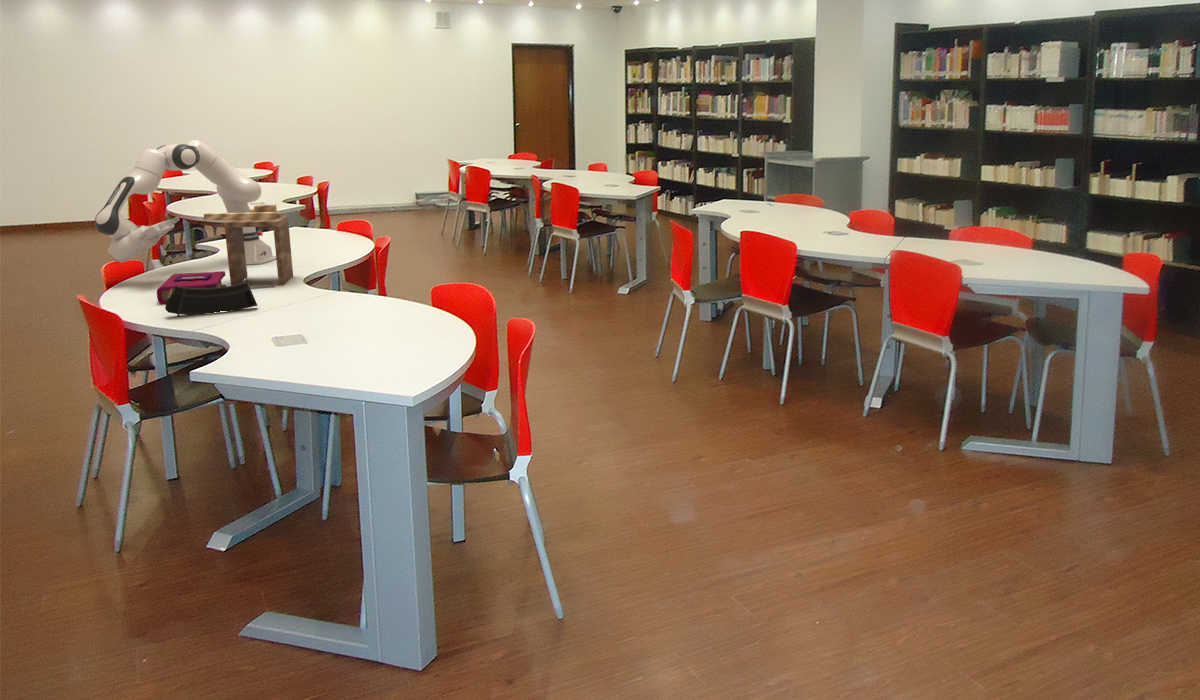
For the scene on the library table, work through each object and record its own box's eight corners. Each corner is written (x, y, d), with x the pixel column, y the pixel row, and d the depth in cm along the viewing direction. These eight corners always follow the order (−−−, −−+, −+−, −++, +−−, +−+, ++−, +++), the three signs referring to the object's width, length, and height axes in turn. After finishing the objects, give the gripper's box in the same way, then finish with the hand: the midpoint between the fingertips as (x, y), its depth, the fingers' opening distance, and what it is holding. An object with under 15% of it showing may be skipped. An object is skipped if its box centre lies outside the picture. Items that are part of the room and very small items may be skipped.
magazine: (261, 282, 353) (173, 266, 338) (262, 284, 350) (174, 267, 335) (251, 327, 355) (163, 313, 340) (252, 329, 352) (164, 315, 338)
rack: (230, 286, 393) (222, 210, 385) (242, 277, 411) (235, 205, 403) (283, 285, 395) (276, 209, 387) (293, 276, 413) (286, 204, 405)
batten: (204, 220, 393) (203, 214, 392) (206, 219, 395) (205, 213, 395) (274, 219, 395) (274, 213, 395) (276, 218, 398) (275, 212, 397)
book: (158, 305, 360) (155, 285, 358) (172, 290, 387) (169, 272, 385) (217, 302, 365) (215, 282, 363) (227, 288, 391) (225, 269, 389)
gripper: (131, 233, 382) (160, 215, 382) (149, 227, 402) (177, 210, 401) (141, 247, 384) (170, 229, 383) (159, 240, 404) (187, 223, 403)
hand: (174, 219), depth 393 cm, fingers open, 8 cm apart
